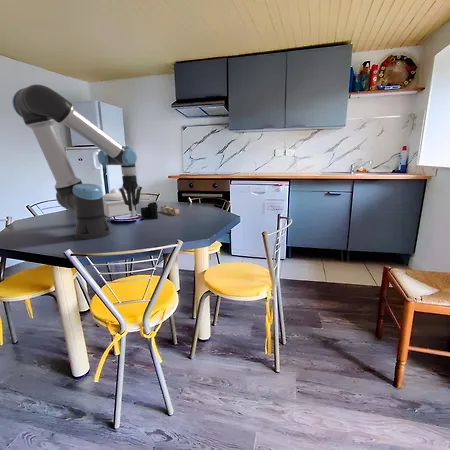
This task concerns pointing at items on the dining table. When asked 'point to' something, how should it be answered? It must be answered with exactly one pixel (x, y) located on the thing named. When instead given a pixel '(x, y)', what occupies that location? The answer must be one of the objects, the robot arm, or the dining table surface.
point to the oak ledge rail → (170, 210)
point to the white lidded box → (115, 204)
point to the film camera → (150, 211)
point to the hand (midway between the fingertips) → (133, 216)
